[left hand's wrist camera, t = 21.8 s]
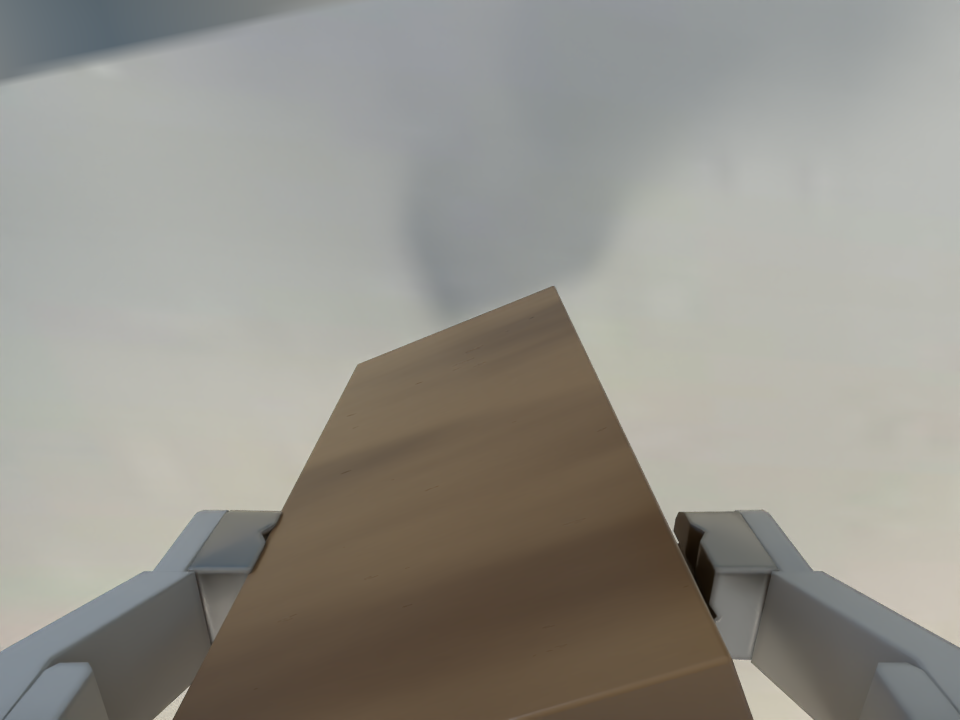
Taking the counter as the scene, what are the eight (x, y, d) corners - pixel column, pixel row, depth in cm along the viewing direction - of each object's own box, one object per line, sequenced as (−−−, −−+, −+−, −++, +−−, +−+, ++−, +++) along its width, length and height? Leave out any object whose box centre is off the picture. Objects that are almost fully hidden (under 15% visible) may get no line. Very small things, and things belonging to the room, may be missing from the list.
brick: (601, 410, 17) (828, 929, 6) (417, 478, 18) (316, 1041, 7) (554, 284, 16) (731, 657, 5) (356, 364, 16) (107, 841, 5)
